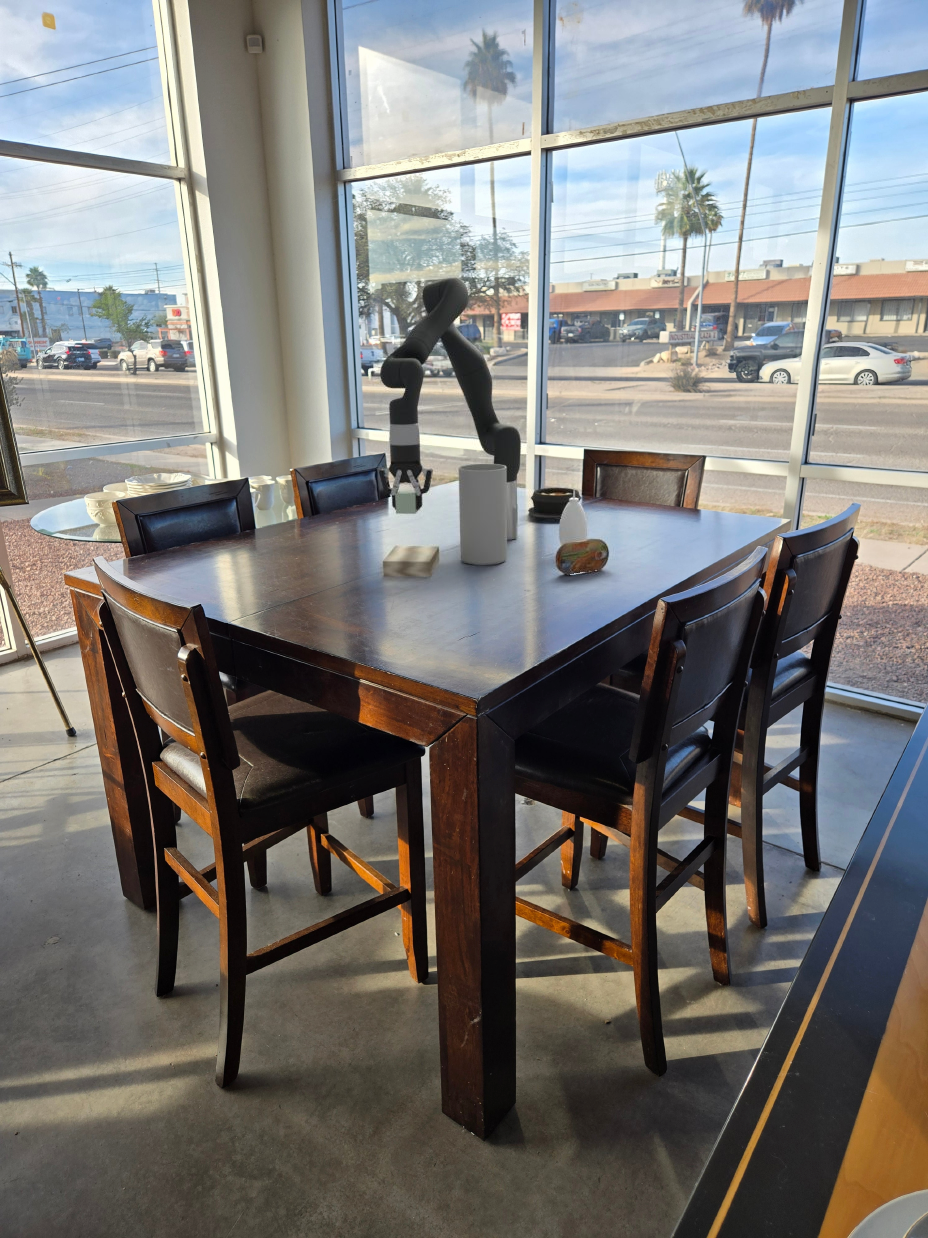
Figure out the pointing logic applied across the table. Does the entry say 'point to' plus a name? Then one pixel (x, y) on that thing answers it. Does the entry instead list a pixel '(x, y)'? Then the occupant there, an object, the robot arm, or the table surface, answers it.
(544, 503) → the casserole
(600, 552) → the tin
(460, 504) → the cylinder vase
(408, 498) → the cube
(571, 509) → the sauce bottle
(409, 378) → the robot arm
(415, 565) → the base block
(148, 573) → the table surface
